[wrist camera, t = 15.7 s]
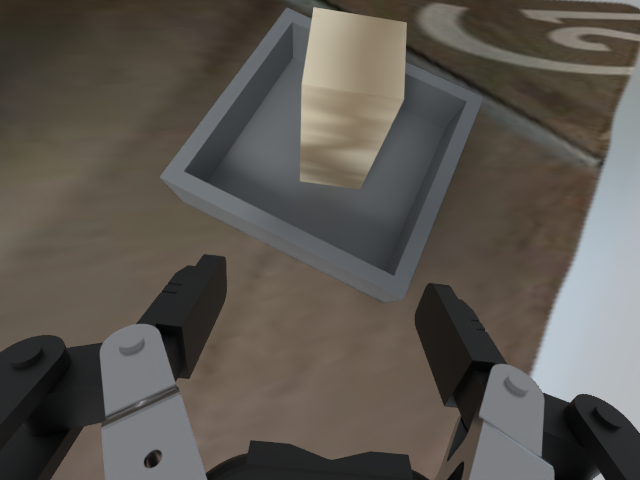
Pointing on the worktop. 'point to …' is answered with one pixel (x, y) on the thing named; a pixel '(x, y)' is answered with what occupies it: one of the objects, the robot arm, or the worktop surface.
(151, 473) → the robot arm
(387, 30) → the maple block
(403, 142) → the box
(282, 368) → the worktop surface
